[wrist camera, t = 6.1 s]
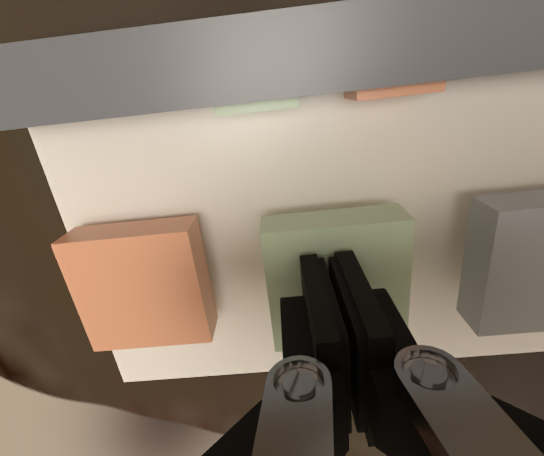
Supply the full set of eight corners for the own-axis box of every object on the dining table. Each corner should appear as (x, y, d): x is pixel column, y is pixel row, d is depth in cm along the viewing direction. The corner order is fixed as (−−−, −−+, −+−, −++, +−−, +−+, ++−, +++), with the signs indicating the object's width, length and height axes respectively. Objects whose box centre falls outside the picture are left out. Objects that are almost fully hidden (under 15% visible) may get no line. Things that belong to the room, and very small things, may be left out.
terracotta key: (196, 215, 12) (187, 231, 11) (218, 316, 14) (212, 342, 13) (75, 226, 12) (50, 244, 11) (111, 325, 14) (94, 351, 13)
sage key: (398, 203, 11) (414, 219, 10) (393, 314, 13) (407, 342, 12) (261, 216, 11) (259, 234, 10) (275, 324, 13) (275, 352, 12)
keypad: (587, -2, 12) (780, -55, 7) (516, 315, 18) (602, 398, 13) (49, 63, 13) (-73, 53, 8) (142, 345, 18) (99, 431, 14)
